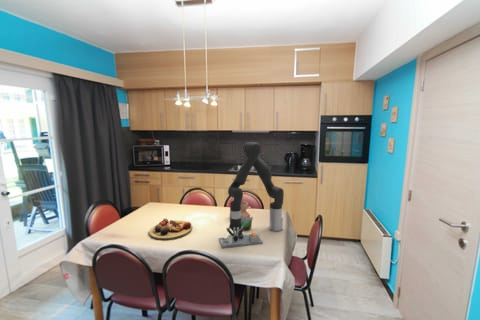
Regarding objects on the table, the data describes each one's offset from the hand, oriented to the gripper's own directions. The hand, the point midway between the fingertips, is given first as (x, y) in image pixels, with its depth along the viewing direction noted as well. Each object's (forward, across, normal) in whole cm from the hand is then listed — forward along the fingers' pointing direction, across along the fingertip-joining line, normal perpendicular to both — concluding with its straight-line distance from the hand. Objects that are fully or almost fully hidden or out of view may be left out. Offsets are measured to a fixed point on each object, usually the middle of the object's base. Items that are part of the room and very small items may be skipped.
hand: (235, 240), depth 158 cm
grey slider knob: (+1, -4, 0) cm, 4 cm away
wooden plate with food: (+3, -44, +32) cm, 54 cm away
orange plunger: (+1, +13, 0) cm, 13 cm away
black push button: (+1, +5, +6) cm, 7 cm away
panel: (+2, +4, +3) cm, 5 cm away
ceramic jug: (+2, +13, +42) cm, 44 cm away
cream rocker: (-1, -3, +6) cm, 7 cm away
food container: (+2, +11, +21) cm, 24 cm away
